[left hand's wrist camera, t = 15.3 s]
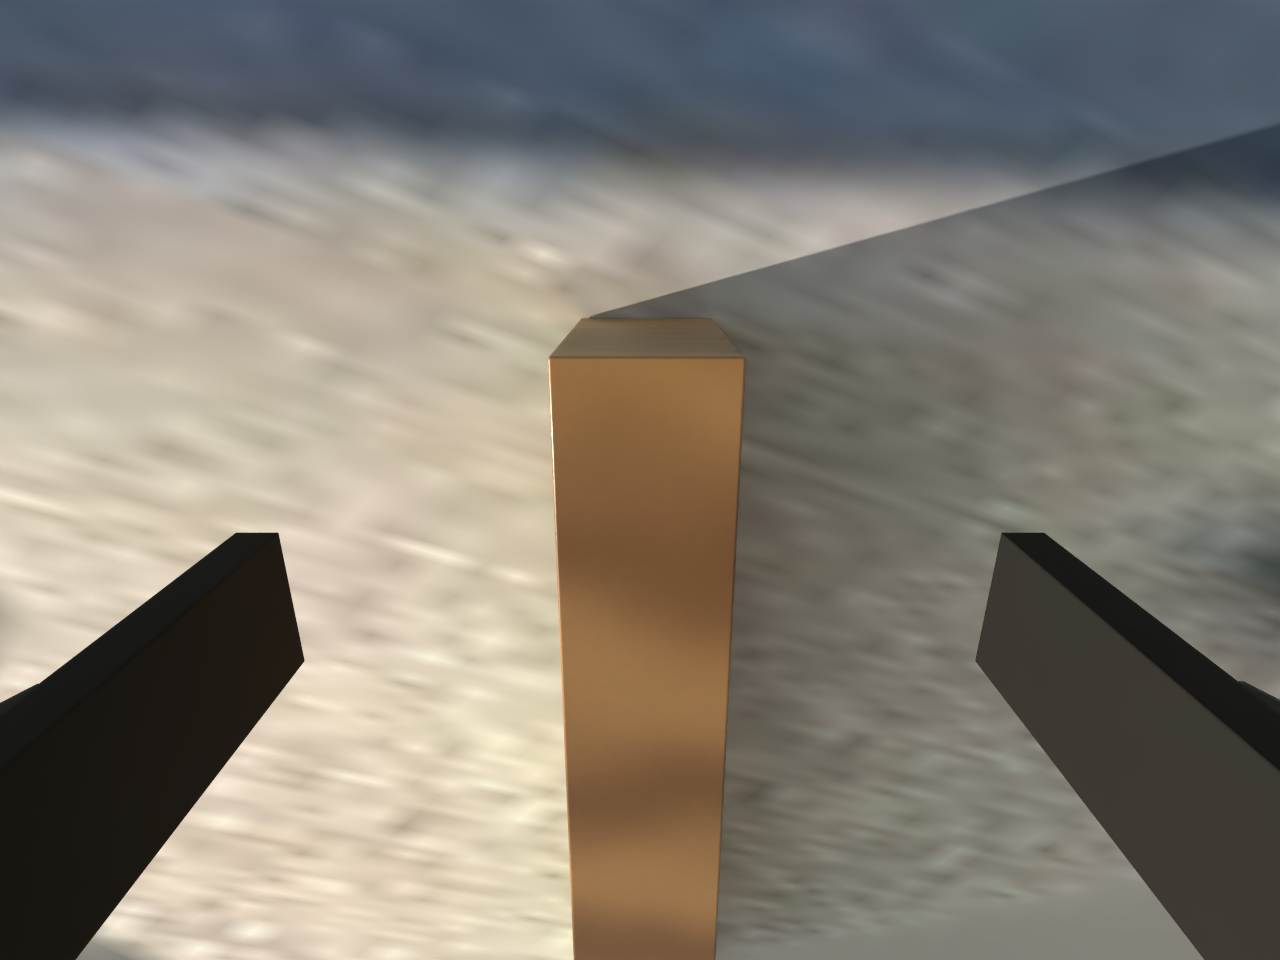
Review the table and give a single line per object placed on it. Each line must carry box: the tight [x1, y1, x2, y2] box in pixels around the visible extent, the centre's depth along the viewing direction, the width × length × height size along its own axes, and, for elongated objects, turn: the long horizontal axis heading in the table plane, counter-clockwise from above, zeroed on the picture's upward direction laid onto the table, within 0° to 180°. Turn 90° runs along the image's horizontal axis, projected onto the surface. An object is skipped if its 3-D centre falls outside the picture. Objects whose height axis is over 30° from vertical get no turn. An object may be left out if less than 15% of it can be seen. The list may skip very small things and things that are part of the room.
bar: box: [548, 318, 746, 960], centre depth 26 cm, size 36×5×9 cm, turn 0°
